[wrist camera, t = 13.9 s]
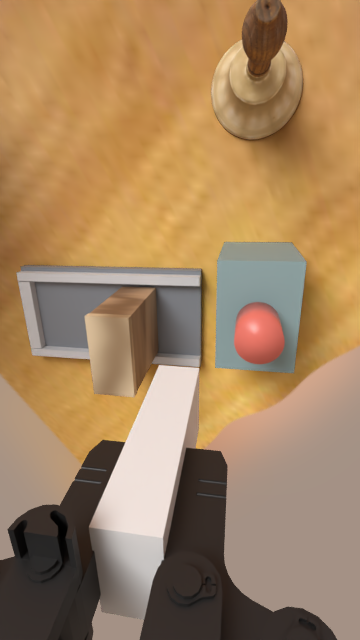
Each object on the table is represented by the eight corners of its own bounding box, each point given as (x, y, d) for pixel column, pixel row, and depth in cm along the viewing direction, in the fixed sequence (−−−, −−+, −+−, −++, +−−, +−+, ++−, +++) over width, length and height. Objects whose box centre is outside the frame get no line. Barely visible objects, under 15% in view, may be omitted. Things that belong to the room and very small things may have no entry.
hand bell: (248, 12, 30) (250, -148, 16) (322, 72, 31) (390, -29, 16) (194, 105, 34) (153, 43, 19) (262, 157, 34) (273, 137, 19)
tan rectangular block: (127, 348, 43) (94, 393, 34) (121, 286, 40) (84, 316, 31) (159, 350, 42) (134, 397, 33) (156, 287, 40) (128, 318, 30)
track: (41, 352, 47) (32, 358, 45) (25, 265, 43) (15, 268, 41) (201, 362, 43) (199, 370, 42) (201, 268, 39) (199, 272, 37)
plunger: (234, 340, 30) (233, 362, 26) (236, 301, 29) (235, 318, 25) (278, 343, 29) (282, 365, 26) (281, 302, 28) (286, 320, 24)
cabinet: (222, 332, 41) (215, 373, 32) (224, 241, 38) (217, 260, 28) (282, 335, 40) (293, 379, 31) (291, 242, 36) (306, 261, 27)
